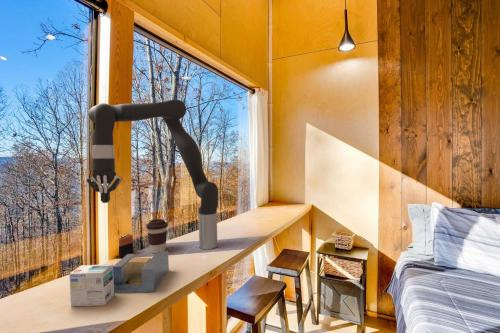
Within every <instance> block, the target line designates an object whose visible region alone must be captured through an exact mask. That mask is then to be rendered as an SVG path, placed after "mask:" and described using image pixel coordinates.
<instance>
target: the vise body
mask: <svg viewBox="0 0 500 333" xmlns="http://www.w3.org/2000/svg"><path fill="white" fill-rule="evenodd" d="M150 258H151V259H150V260H149V261H148V263H147V264H146V265H145V266H144V267H143V268H142V269H141V272H142V283H137V284H129V283H126V284H114V294H122V293H123V294H127V293H128V294H129V293H130V294H131V293H132V294H135V293H155V291H156V290H157V289H158V287H159V286H160V284H161V283H162V281H163V280H164V279H165V277H166V275H167V274H168V273H169V271H170V269H169V268H170V267H169V266H170V265H169V251H168V250H165V251H158V252H157V253H154V255H153V256H152V257H150ZM103 265H106V264H103Z"/></svg>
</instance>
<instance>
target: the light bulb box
mask: <svg viewBox="0 0 500 333" xmlns="http://www.w3.org/2000/svg"><path fill="white" fill-rule="evenodd" d="M113 266H114V264H113V263H109V264H106V265H104V264H90V265H89V264H87V265H84V264H83V265H82V264H81V265H80V266H78V267H77V268H75V269H74V270H73V271H71V272H70V273H69V290H70V306H71V307H89V306H90V307H93V306H95V307H96V306H105V305H106V304H107V303H108V302H109V301H110V300H111V299H112V298H113V297H114V296H115V293H114V278H113Z"/></svg>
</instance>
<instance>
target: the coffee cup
mask: <svg viewBox="0 0 500 333" xmlns="http://www.w3.org/2000/svg"><path fill="white" fill-rule="evenodd" d="M168 226H169V224H168V221H165V220H164V219H161V218H157V219H156V218H155V219H151V220H149V222H148V223H147V224H146V226H145V227H146V229H147V239H148V241H147V242H148V244H149V252H150V254H151V253H152V254H156V253H157V252H158V251H167V250H166V248H167V236H168V234H167V233H168V229H167V228H168Z"/></svg>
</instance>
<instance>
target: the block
mask: <svg viewBox="0 0 500 333" xmlns="http://www.w3.org/2000/svg"><path fill="white" fill-rule="evenodd" d="M151 258H152V257H136V258H132V259H131V260H130V261H129V262H128V282H127V284H142V272H141V269H142V268H143V267H144V266H145V265H146V264H147V263H148V261H149V260H150V259H151Z"/></svg>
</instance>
